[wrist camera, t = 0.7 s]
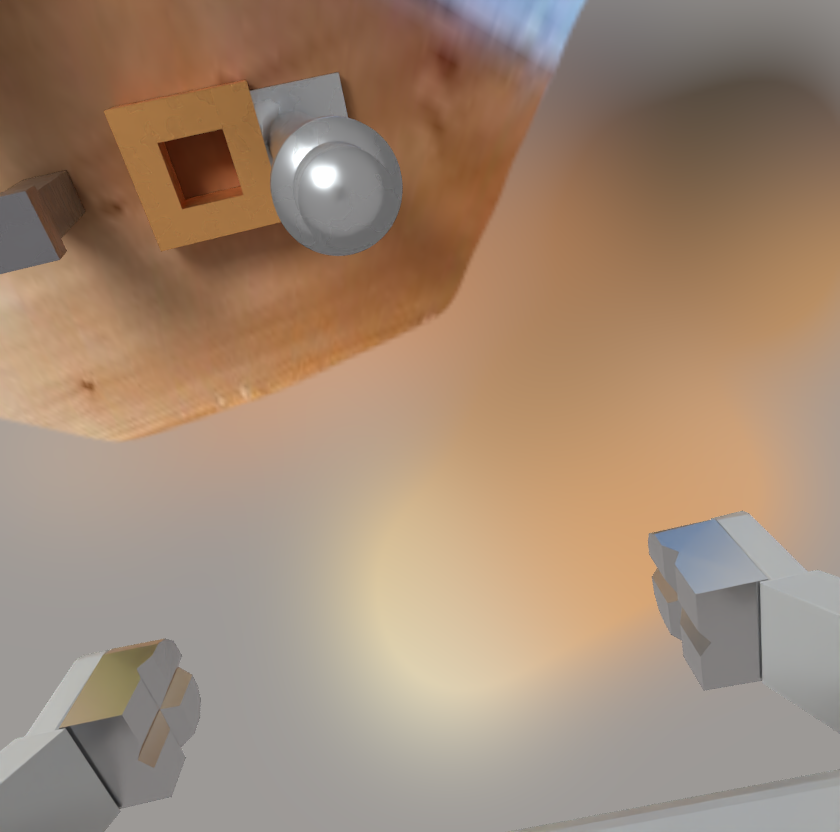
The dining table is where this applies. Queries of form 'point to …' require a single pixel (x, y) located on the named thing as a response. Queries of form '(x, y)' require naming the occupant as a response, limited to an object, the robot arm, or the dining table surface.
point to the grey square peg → (36, 220)
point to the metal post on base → (265, 165)
